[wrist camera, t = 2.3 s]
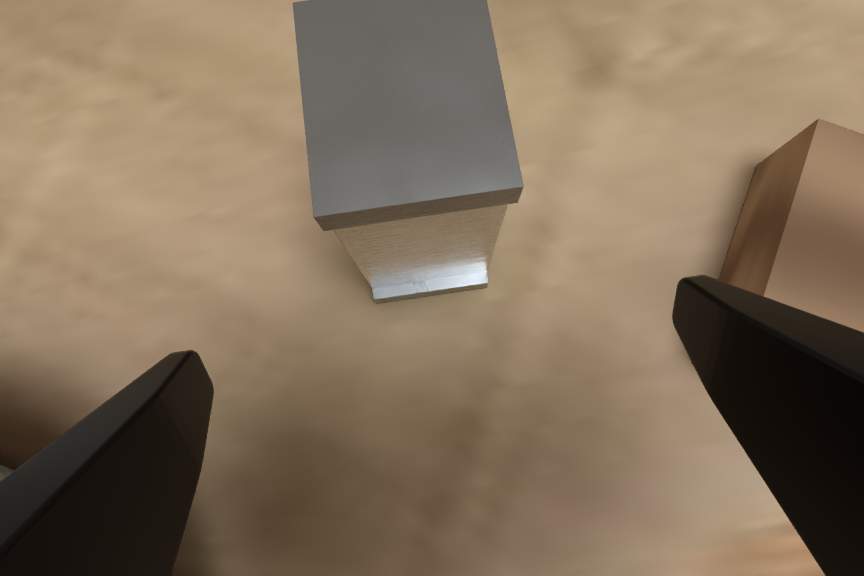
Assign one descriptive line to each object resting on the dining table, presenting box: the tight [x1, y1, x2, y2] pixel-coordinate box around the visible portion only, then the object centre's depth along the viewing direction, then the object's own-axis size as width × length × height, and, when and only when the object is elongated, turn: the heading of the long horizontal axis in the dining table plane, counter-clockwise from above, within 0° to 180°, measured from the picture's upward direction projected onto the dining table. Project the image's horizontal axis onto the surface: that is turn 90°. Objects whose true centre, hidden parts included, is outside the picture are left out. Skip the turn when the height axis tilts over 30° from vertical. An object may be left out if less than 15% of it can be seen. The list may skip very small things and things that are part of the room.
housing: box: [293, 0, 523, 304], centre depth 18 cm, size 6×5×11 cm
